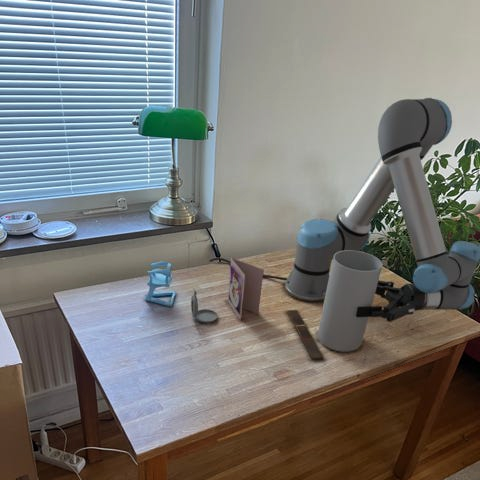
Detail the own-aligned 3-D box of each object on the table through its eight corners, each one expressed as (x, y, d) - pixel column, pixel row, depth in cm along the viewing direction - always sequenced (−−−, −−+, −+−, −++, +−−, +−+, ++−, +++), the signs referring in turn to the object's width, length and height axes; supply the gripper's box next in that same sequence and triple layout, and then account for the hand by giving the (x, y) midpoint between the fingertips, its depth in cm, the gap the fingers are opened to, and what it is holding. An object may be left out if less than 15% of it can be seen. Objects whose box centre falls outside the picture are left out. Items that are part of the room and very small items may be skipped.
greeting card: (225, 301, 147) (228, 257, 139) (246, 298, 150) (251, 255, 142) (237, 320, 139) (242, 275, 130) (260, 317, 141) (266, 272, 133)
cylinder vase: (309, 331, 137) (324, 252, 124) (345, 325, 141) (364, 248, 128) (331, 356, 127) (350, 273, 114) (369, 349, 132) (392, 268, 118)
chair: (149, 291, 149) (148, 257, 142) (175, 294, 149) (175, 259, 142) (144, 304, 142) (143, 268, 136) (171, 306, 142) (171, 271, 136)
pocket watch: (221, 318, 139) (224, 289, 133) (200, 329, 133) (202, 298, 128) (202, 307, 143) (204, 278, 138) (181, 317, 138) (182, 287, 132)
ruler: (287, 312, 145) (287, 310, 144) (296, 312, 145) (296, 309, 145) (312, 360, 125) (312, 357, 125) (322, 359, 126) (323, 357, 125)
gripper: (438, 333, 123) (363, 336, 119) (394, 287, 144) (329, 288, 139) (447, 308, 119) (369, 311, 115) (401, 264, 140) (334, 265, 135)
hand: (347, 298), depth 127 cm, fingers open, 13 cm apart
